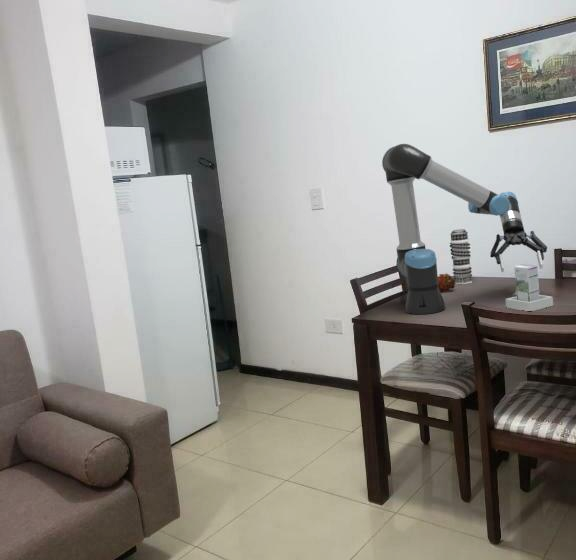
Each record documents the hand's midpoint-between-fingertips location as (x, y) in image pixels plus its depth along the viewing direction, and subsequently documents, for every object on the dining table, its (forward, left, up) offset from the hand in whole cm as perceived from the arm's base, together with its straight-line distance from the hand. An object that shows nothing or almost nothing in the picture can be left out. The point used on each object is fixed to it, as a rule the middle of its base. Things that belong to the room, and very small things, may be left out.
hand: (522, 268), depth 208 cm
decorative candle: (+14, +51, -13) cm, 54 cm away
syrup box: (-5, -7, -12) cm, 15 cm away
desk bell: (+6, +5, -13) cm, 15 cm away
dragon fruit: (-3, +44, -13) cm, 46 cm away
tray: (-5, -7, -13) cm, 15 cm away
